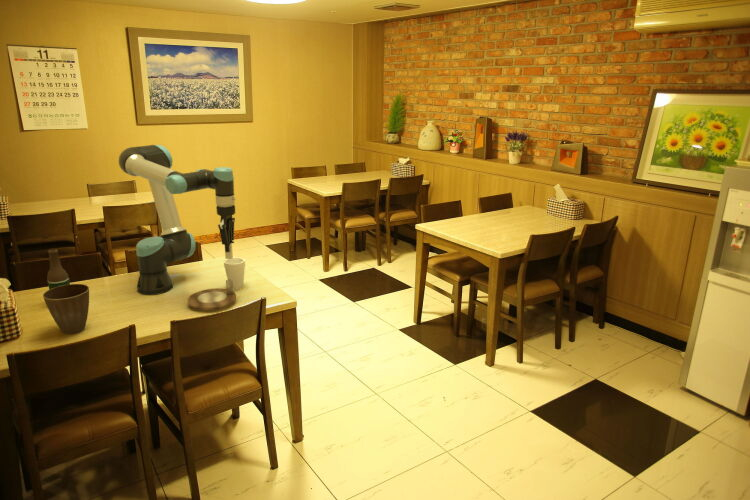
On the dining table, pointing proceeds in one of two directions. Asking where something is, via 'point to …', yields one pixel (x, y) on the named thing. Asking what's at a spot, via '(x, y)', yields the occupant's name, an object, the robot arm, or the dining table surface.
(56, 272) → the beer bottle
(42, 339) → the dining table surface
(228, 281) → the turntable
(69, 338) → the dining table surface
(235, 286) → the foam cup
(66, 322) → the plant pot
